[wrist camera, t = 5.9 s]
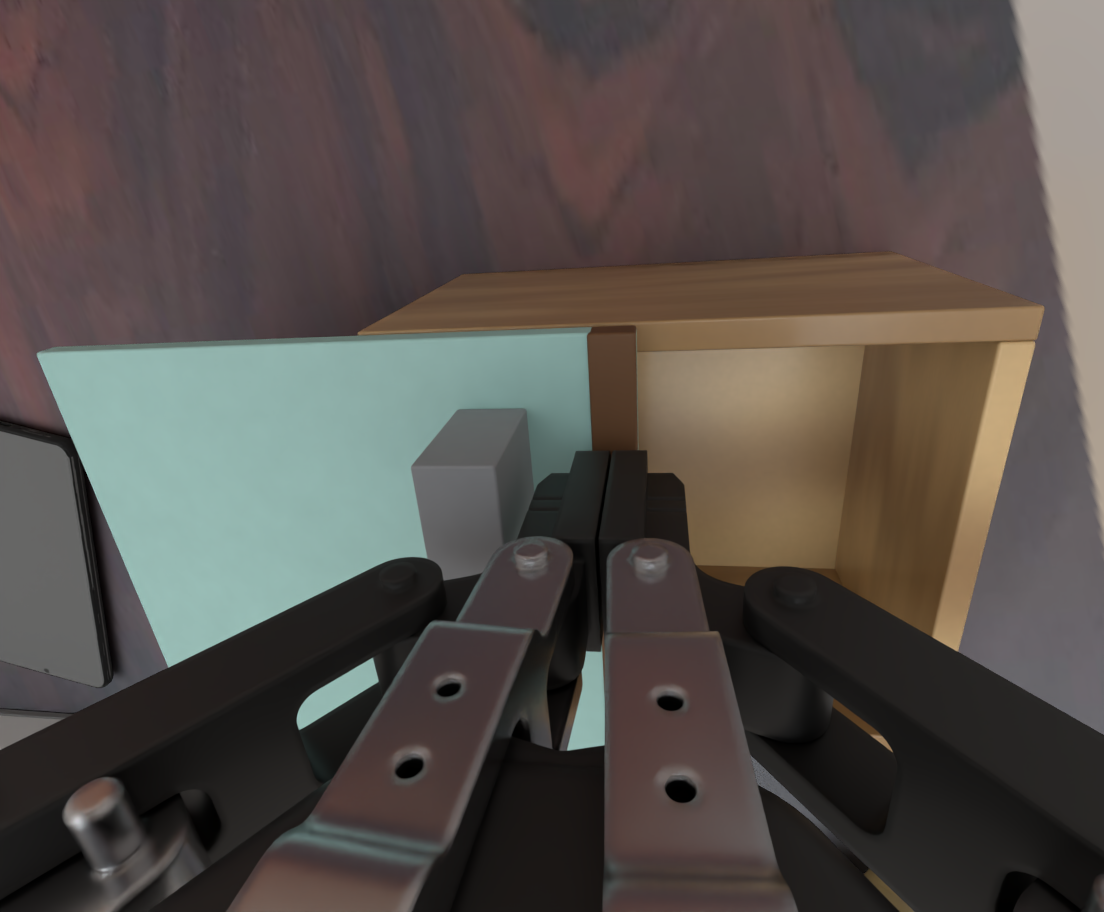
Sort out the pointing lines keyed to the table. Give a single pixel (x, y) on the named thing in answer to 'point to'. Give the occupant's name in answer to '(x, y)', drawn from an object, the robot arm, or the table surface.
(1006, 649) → the table surface
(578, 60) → the table surface
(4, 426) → the smartphone
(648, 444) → the maple box
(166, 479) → the mint sliding box lid
